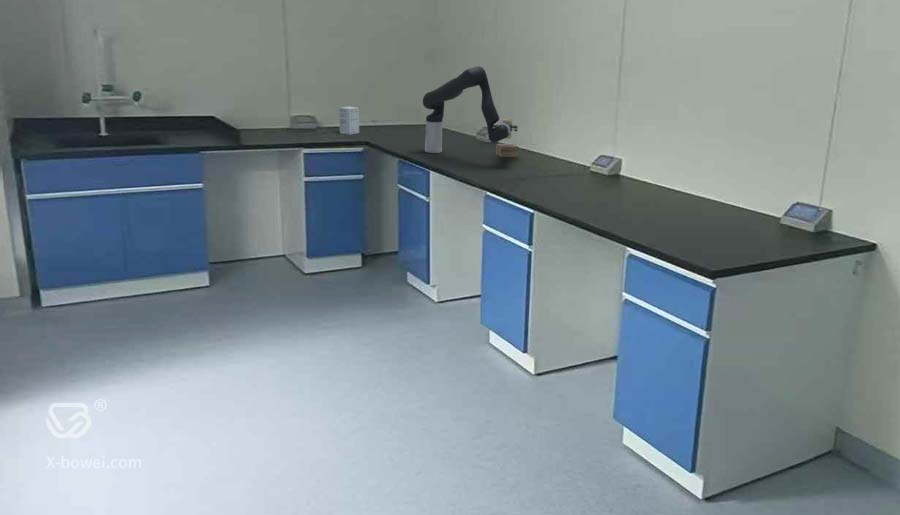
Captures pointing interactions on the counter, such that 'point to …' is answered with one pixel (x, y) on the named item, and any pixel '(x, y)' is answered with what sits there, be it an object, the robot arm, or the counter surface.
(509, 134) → the oak block
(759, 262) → the counter surface
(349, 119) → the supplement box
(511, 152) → the walnut base
